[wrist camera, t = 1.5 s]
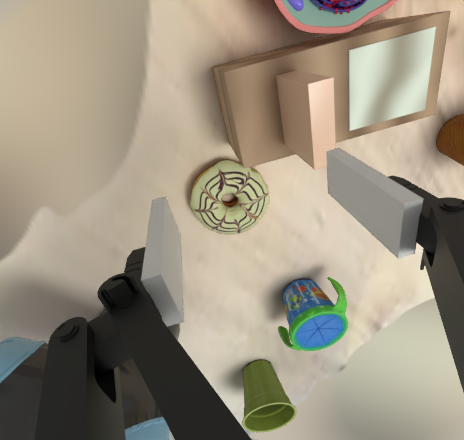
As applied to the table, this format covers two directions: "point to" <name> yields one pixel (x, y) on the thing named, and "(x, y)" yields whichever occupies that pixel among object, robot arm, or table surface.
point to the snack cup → (313, 316)
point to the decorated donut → (226, 182)
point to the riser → (337, 82)
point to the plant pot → (265, 399)
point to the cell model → (331, 13)
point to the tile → (307, 115)
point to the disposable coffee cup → (452, 139)
